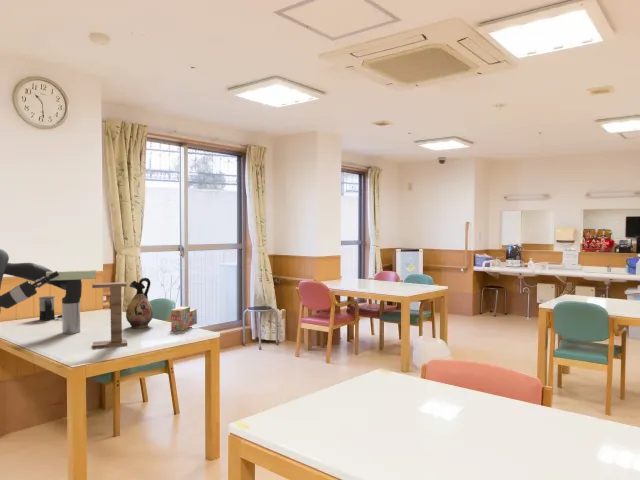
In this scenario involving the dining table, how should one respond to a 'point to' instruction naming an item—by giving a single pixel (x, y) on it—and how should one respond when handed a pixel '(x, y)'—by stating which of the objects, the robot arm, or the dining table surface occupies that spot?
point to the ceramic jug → (139, 306)
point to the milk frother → (47, 308)
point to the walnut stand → (113, 316)
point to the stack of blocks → (183, 318)
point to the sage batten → (74, 275)
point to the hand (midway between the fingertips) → (57, 272)
